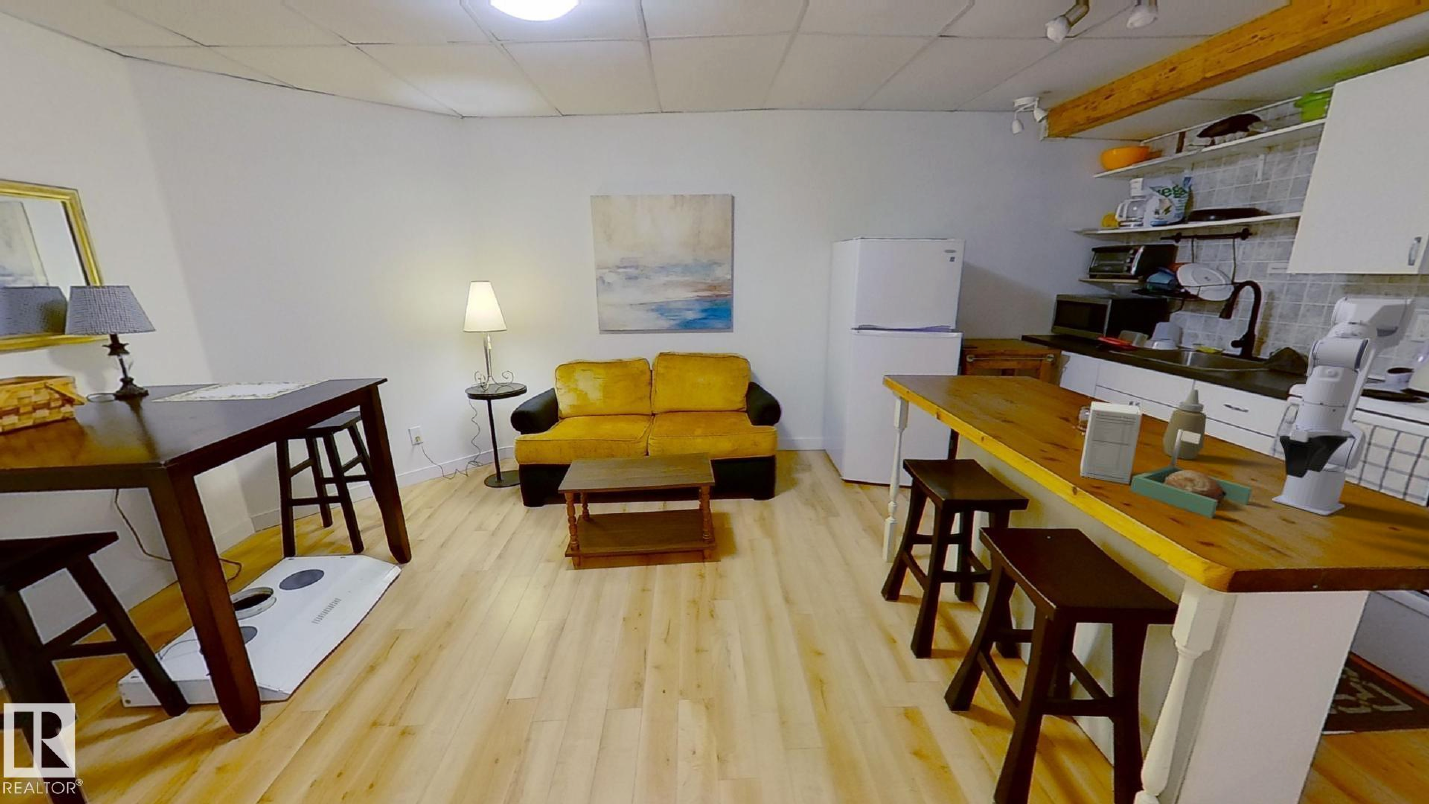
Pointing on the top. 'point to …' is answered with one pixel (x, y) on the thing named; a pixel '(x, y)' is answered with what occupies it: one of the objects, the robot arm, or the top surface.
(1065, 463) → the top surface
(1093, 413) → the supplement box
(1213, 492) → the bread roll
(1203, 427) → the squeeze bottle
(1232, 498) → the teal shallow tray
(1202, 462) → the top surface
